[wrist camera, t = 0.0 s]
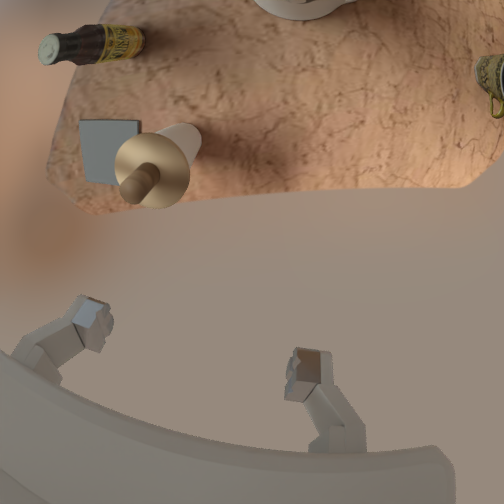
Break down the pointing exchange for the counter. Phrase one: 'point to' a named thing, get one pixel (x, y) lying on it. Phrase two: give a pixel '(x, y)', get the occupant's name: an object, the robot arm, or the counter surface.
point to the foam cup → (184, 139)
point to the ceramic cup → (492, 79)
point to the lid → (151, 171)
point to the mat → (104, 146)
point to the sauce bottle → (92, 45)
